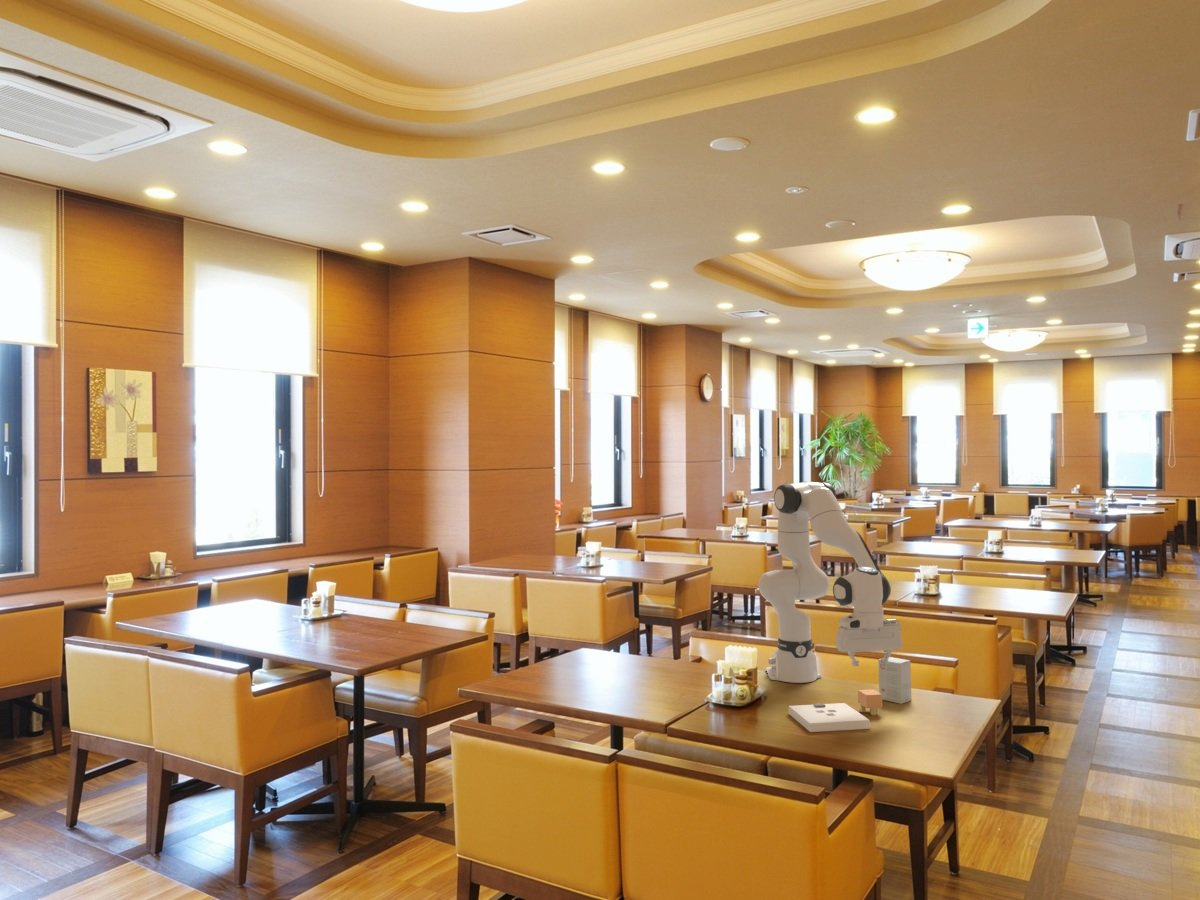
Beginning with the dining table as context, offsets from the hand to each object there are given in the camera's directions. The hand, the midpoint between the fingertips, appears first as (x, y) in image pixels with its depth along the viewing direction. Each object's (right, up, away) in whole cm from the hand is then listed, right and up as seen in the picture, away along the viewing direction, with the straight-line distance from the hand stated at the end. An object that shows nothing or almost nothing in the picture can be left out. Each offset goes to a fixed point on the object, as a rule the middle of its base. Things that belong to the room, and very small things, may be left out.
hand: (869, 665), depth 266 cm
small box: (+13, -15, +14) cm, 24 cm away
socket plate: (-15, -15, -8) cm, 22 cm away
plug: (0, -15, 0) cm, 15 cm away
